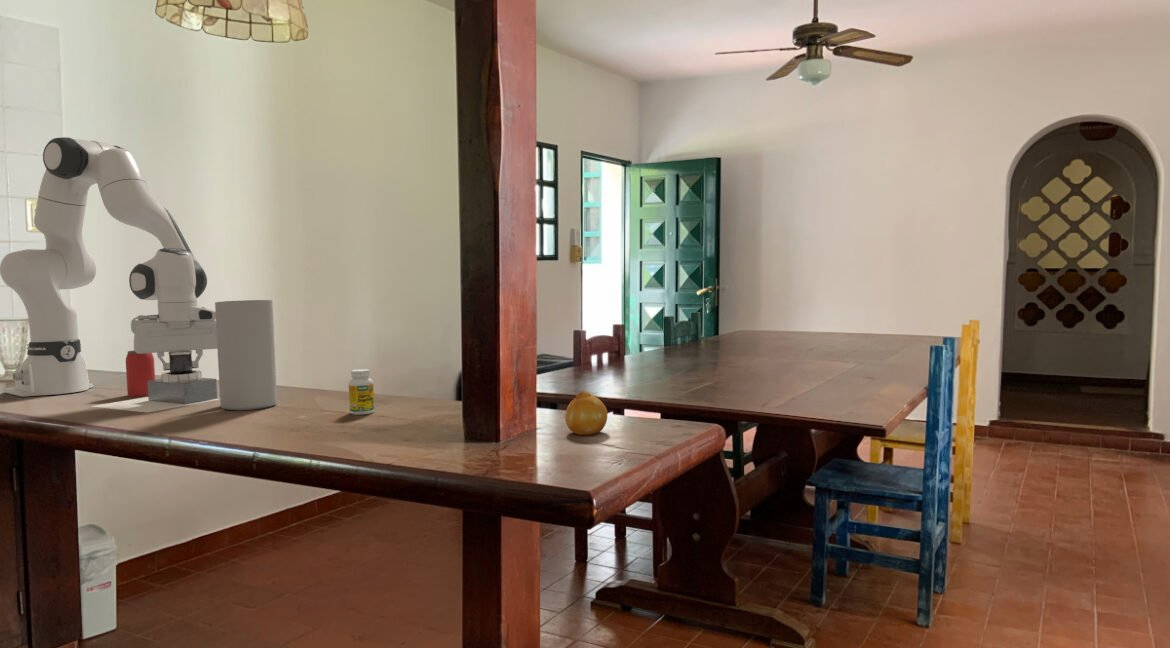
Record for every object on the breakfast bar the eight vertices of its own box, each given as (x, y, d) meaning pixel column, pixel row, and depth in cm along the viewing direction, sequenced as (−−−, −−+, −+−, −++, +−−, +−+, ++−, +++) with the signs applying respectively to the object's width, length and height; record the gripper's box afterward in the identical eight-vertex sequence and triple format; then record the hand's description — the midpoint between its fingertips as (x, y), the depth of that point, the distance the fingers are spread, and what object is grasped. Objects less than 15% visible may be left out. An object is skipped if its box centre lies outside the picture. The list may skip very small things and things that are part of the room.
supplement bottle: (367, 409, 190) (365, 367, 189) (379, 412, 186) (377, 369, 185) (345, 413, 186) (343, 370, 185) (357, 415, 182) (355, 372, 181)
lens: (168, 381, 204) (166, 353, 204) (172, 378, 209) (170, 351, 209) (191, 380, 205) (189, 352, 205) (194, 377, 210) (193, 350, 210)
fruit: (556, 417, 162) (565, 385, 158) (594, 417, 165) (604, 386, 161) (566, 446, 156) (576, 413, 151) (607, 446, 158) (617, 413, 154)
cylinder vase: (223, 404, 202) (218, 301, 200) (278, 400, 205) (273, 299, 204) (217, 412, 190) (211, 303, 188) (275, 408, 194) (270, 301, 192)
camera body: (148, 400, 207) (146, 373, 207) (181, 395, 215) (179, 369, 215) (184, 404, 200) (183, 376, 200) (217, 398, 208) (215, 371, 208)
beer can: (121, 398, 215) (118, 352, 214) (142, 394, 221) (139, 349, 221) (142, 398, 213) (139, 352, 212) (162, 394, 220) (159, 349, 219)
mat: (90, 407, 201) (90, 406, 200) (166, 395, 218) (166, 394, 218) (147, 414, 190) (147, 412, 190) (222, 400, 207) (222, 399, 207)
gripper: (130, 316, 198) (134, 374, 199) (223, 312, 209) (226, 367, 210) (129, 315, 204) (133, 371, 205) (220, 311, 214) (222, 364, 215)
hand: (181, 369), depth 207 cm, fingers closed on lens, 5 cm apart
